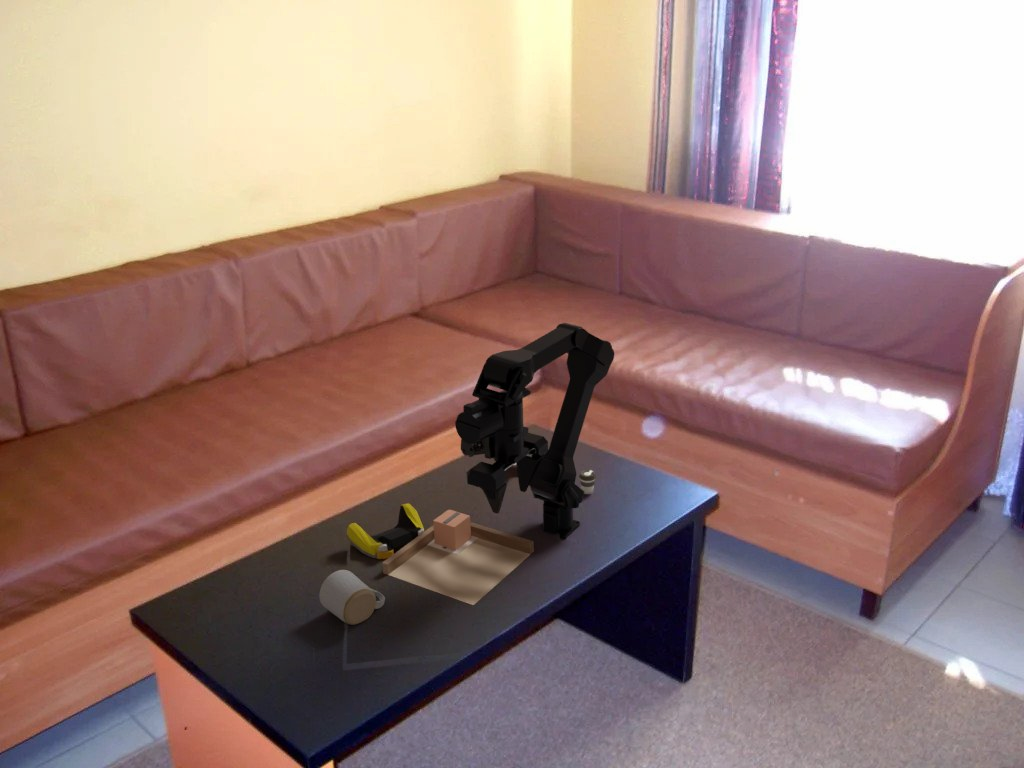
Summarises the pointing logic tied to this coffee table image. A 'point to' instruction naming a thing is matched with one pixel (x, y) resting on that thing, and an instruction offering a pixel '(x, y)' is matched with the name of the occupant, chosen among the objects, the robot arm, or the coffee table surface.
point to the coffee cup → (587, 481)
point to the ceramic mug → (349, 597)
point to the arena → (459, 562)
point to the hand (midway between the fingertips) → (509, 501)
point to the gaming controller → (387, 535)
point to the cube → (452, 529)
